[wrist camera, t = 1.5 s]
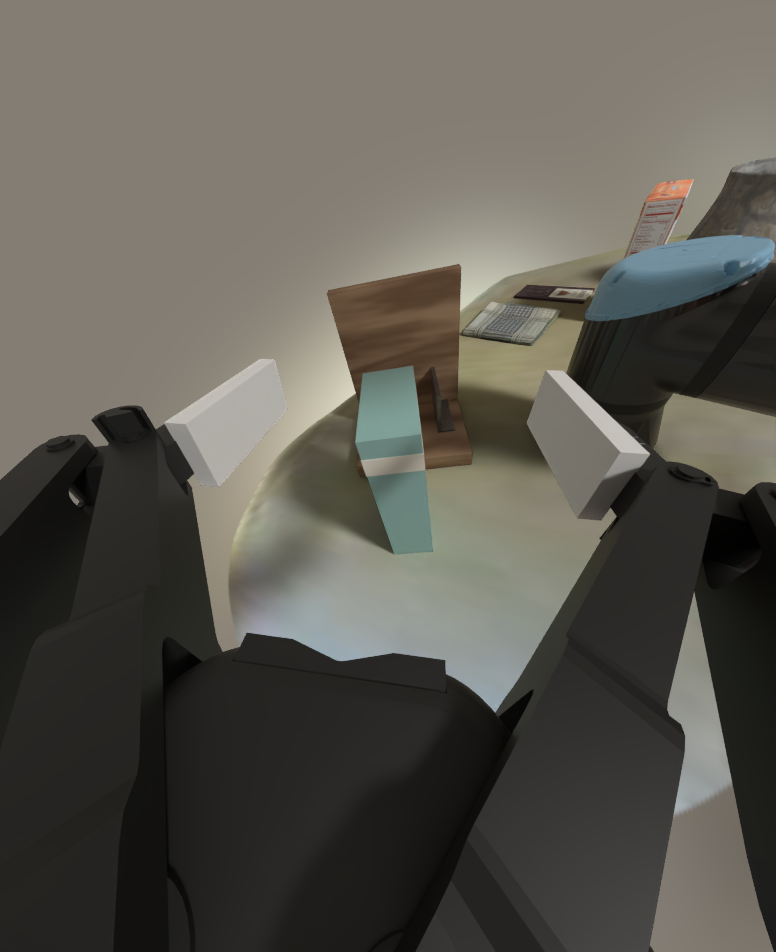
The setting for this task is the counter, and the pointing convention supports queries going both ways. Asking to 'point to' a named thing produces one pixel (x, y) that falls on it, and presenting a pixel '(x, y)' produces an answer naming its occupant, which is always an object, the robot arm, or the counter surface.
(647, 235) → the cracker box
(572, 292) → the chocolate bar
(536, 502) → the counter surface
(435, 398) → the bookend
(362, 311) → the brown angled piece
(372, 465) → the book
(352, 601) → the counter surface
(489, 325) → the dish towel
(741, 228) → the vessel
